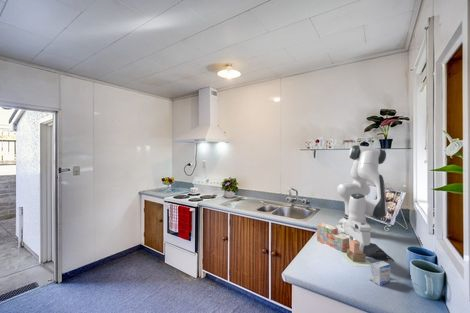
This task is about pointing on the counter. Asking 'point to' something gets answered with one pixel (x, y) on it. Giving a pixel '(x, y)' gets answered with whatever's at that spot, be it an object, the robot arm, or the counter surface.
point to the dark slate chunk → (375, 252)
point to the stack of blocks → (332, 237)
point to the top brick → (355, 247)
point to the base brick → (356, 256)
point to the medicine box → (380, 272)
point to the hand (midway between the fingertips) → (356, 246)
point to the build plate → (355, 262)
